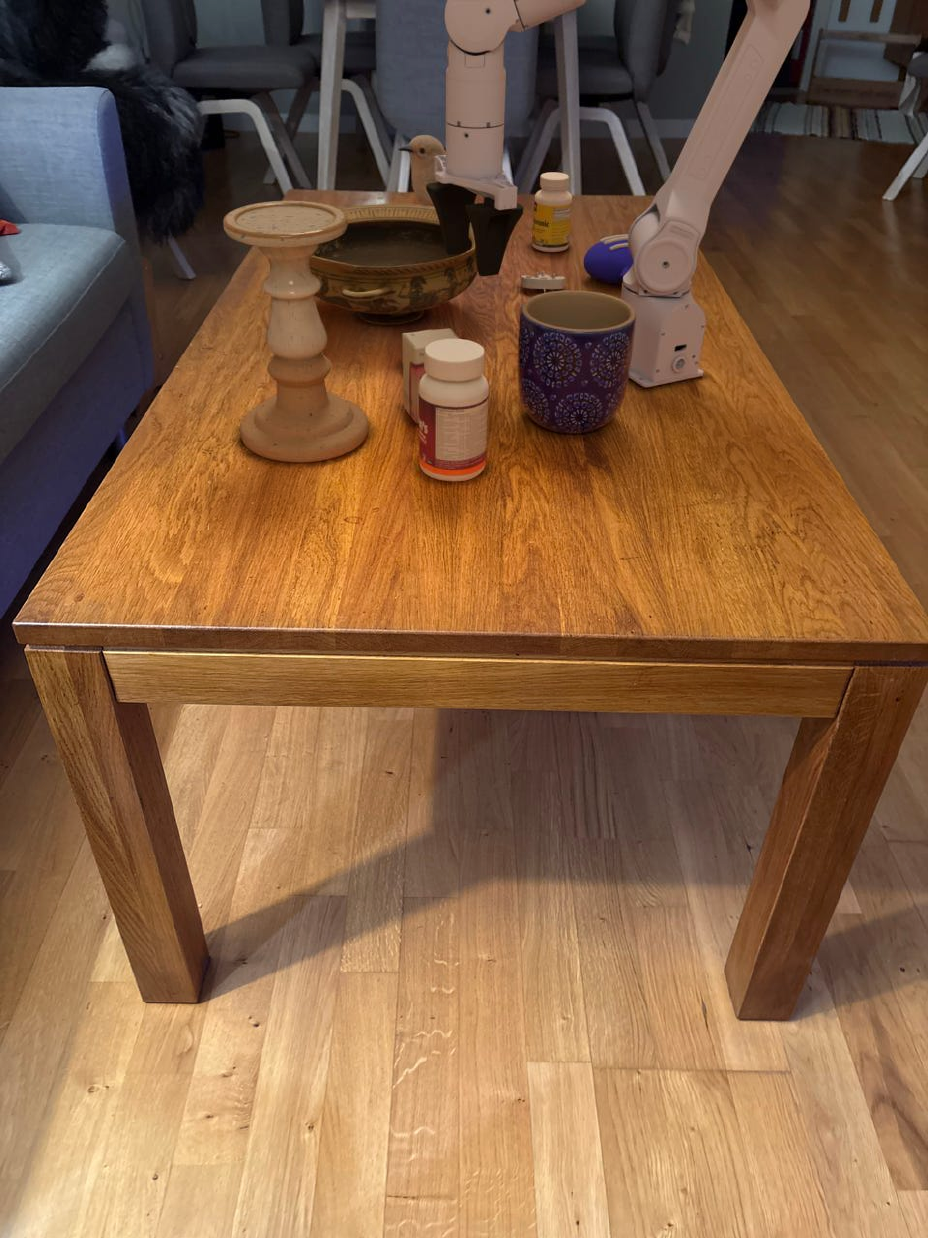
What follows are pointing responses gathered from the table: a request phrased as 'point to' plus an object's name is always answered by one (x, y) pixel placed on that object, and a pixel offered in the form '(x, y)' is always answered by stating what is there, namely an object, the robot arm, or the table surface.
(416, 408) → the small box
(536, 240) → the supplement bottle
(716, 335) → the table surface
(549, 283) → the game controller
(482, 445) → the pill bottle
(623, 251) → the decorative object
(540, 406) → the planter
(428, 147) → the bird
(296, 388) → the candle holder
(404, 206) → the ceramic bowl
